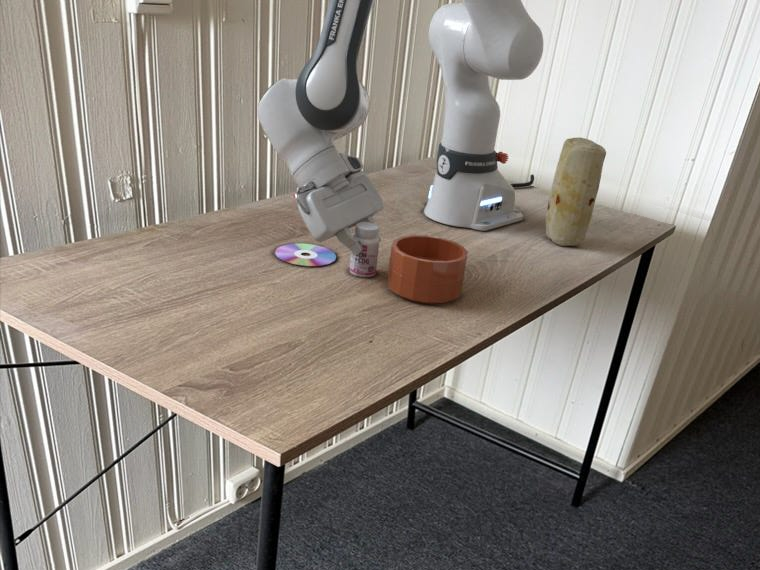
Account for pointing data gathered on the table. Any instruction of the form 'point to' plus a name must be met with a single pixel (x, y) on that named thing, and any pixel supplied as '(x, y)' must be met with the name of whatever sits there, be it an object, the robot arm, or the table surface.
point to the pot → (426, 268)
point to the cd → (316, 258)
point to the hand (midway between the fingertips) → (368, 248)
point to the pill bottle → (365, 250)
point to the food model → (574, 191)
